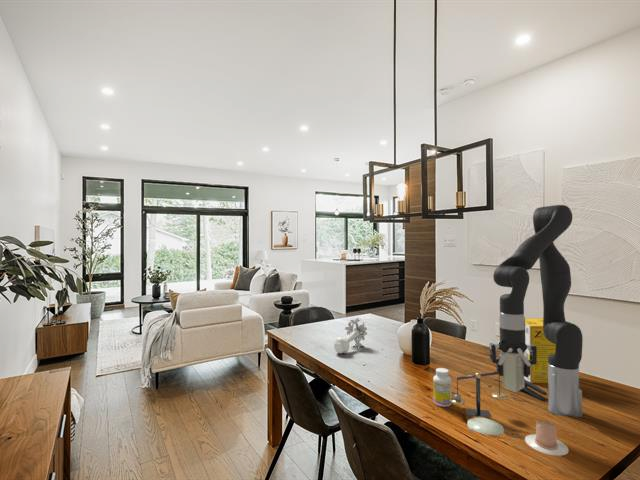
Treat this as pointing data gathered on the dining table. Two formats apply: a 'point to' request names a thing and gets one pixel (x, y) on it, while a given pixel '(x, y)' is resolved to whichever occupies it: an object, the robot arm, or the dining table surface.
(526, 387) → the can opener
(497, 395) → the balance
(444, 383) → the supplement bottle
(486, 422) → the pale white round dome
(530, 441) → the dish near
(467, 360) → the dining table surface
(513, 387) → the skincare box
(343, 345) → the flower vase
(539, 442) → the peach domed cylinder
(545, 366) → the packaging box
